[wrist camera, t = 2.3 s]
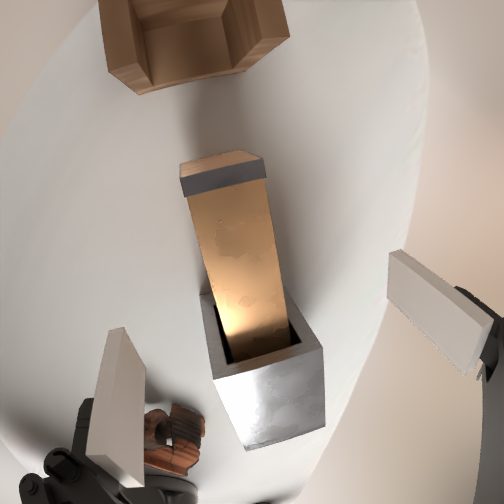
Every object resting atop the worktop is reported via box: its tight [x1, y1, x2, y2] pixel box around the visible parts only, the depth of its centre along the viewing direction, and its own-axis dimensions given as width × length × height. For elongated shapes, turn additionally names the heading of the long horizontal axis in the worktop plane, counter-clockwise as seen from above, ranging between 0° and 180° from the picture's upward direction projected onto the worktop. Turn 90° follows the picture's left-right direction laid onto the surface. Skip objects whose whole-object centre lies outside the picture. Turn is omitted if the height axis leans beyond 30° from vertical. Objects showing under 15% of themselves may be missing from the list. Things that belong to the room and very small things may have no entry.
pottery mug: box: [144, 405, 205, 476], centre depth 30 cm, size 12×10×8 cm
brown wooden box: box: [98, 0, 290, 95], centre depth 14 cm, size 8×6×10 cm
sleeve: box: [200, 284, 325, 451], centre depth 24 cm, size 7×10×10 cm
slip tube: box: [180, 150, 292, 363], centre depth 22 cm, size 4×20×6 cm, turn 10°
